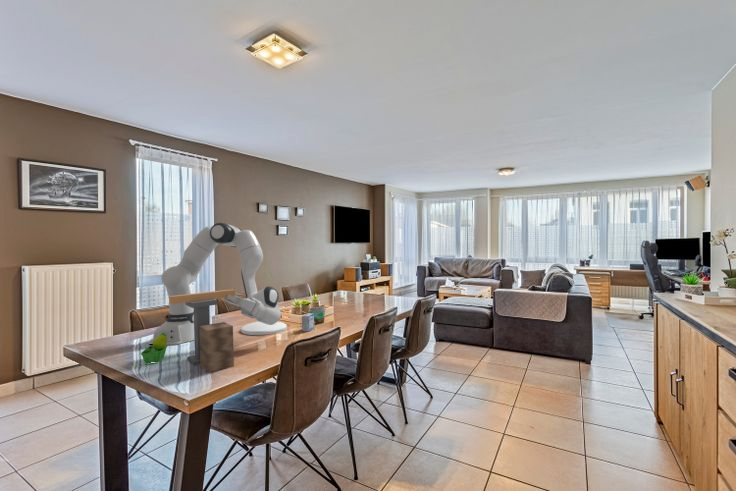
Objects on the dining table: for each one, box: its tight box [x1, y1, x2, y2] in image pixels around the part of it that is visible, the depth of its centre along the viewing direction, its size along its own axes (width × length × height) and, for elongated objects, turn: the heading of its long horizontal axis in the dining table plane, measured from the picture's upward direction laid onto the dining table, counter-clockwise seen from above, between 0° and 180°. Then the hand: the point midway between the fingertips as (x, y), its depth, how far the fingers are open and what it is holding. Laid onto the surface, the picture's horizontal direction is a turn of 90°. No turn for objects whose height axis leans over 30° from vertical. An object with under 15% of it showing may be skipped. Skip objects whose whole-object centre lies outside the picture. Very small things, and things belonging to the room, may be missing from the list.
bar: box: [168, 289, 236, 305], centre depth 154 cm, size 26×3×3 cm, turn 131°
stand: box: [185, 299, 218, 367], centre depth 153 cm, size 10×10×26 cm
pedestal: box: [199, 321, 235, 374], centre depth 146 cm, size 10×10×16 cm
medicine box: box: [301, 312, 315, 333], centre depth 202 cm, size 8×4×9 cm, turn 168°
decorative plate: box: [240, 321, 288, 336], centre depth 205 cm, size 25×4×25 cm
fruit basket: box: [140, 334, 168, 364], centre depth 155 cm, size 11×9×11 cm
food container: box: [308, 304, 327, 325], centre depth 218 cm, size 12×6×10 cm, turn 148°
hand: (223, 294), depth 159 cm, fingers open, 8 cm apart
